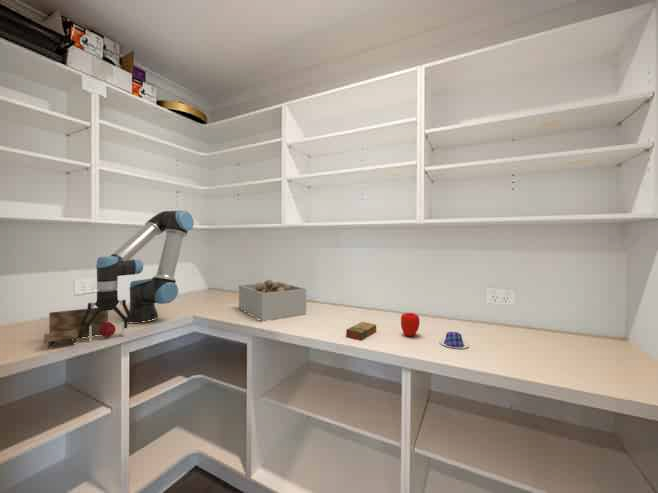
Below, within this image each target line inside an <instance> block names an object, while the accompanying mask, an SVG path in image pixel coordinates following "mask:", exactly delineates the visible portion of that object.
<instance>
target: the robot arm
mask: <svg viewBox="0 0 658 493" xmlns="http://www.w3.org/2000/svg"><path fill="white" fill-rule="evenodd" d="M194 225H195V221H194V217H193V215H192V214H191V213H190V212H189V211H187V210H180V209H178V210H164V211H161V212H159V213H157V214H155V215H154V216H153V217H151V218H150V219H148V220H147V221H146V222H144V226H143V227H142V228H141V229H140V230H139V231H137V232H136V233H135V234H134V235H133V236H132V237H131V238H129V239H128V240H127V241H126V242H125V243H124V244H122V245H121V246H120V247H119V248H118V249H116V250H115V251H114V252H113V253H111V254H110V255H109V256H99V257H98V258H97V259H96V265H95V267H96V302H88V303H87V308H86V309H87V311H86V313H85V315H84V318H83V320H82V322H81V324H80V325H81V326H86V334H88V333H89V337H88V338H89V339H88V341H89V340H93V337H92V325H90V324H91V323H92V321H93V320H94V319H95V318H96V316H97V315H98V314H99V313H100V311H106V310H108V311H114V312H115V313H116V314H117V315H118V316H119V317H120V318H121V319H122V321H121V322H122V323H121V330H122V331H121V334H122V335H121V336H122V337H125V329H128V323H127V322H142V321H148V320H152V319H155V318H157V317H158V318H159V314H158V311H157V308H156V306H155V304H160V305H163V304H165V305H166V304H170V303H172V302H173V301H174V300H175V299H176V298H177V297H178V295H179V294H178V293H179V287H178V284H176V282H177V280H176V278H175V273H176V269H177V265H178V260H179V256H180V252H181V248H182V244H183V239H184V238H185V237H186V236H187V235H188V231H191V230H192V229H193V227H194ZM164 232H165V233H166V235H165V236H166V237H165V240H164V244H163V247H162V251H161V255H160V259H159V263H158V268H157V272H156V275H153V277H152V278H147V279H146V278H145V279H136V280H132V281H131V282H130V285H129V309H128V306H127V303H126V299H120V300H119V299H118V296H119V295H118V291H119V290H118V288H119V287H118V283H119V282H118V281H119V280H118V277H121V276H122V277H123V276H132V275H133V276H134V275H139V274H141V273H142V272H143V270H144V263H143V261H141V260H140V259H137V258H135V259H132V258H133V257H134V256H136V254H137V253H139V251H140V250H142V249H143V248H144V247H145V246H146V245H147V244H149V242H151V240H153V239H154V238H155V237H156V236H160V235H161V234H162V233H164ZM119 304H120V305H121V306H122V307H123V310H124V312H125V315H124V314H123V312H122V311H121V310H120V309H119V308H118V307H117V306H118V305H119ZM95 306H96V308H98V310H97V311H96V312H95V313H94V315H93V316H92V317H91V319H90V320H89V321H88V322H87V323H86V322H85V321H86V319H87V317H88V315H89V312H90V310H91V308H95Z"/></svg>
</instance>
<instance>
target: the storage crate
mask: <svg viewBox="0 0 658 493" xmlns="http://www.w3.org/2000/svg"><path fill="white" fill-rule="evenodd" d="M275 282H276V283H277V284H278V286H279V287H282V288H283V287H284V285H286V284H287V285H290V287H291V290H288V291H278V292H277V289H276V292H269V293H265V290H266V289H265V288H266V286H265V284H264V286H265V288H264V290H262V292H263V293H262V292H259V291H257V290H256V289H255V285H256V284H257V283H250V284H249V283H247V284H239V285H238V309H239V308H240V309H242V310H243V311H245V312H247V313H249V314H251V315H253V316H254V317H256V318H258V319H260V320H261V321H265V322H268V321H267V320H271V321H275V320H274V319H277V320H282V319H281V318H283V319H288V318H287V317H289V318H293V317H294V316H295V317H299V316H300V315H301V316H305V315H307V288H305V287H300V286H296V285H292V284H288V283H285V282H280V281H275ZM271 290H272V288H271ZM240 309H239V310H240ZM243 311H242V312H243ZM245 312H244V313H245ZM247 313H246V314H247ZM249 314H248V315H249ZM254 317H253V318H254ZM256 318H255V319H256ZM258 319H257V320H258ZM261 321H260V322H261Z"/></svg>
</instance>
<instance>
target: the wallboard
mask: <svg viewBox="0 0 658 493" xmlns="http://www.w3.org/2000/svg"><path fill="white" fill-rule="evenodd" d="M87 309H88V308H83V309H82V308H81V309H72V310H62V311H61V310H60V311H53V312H49V313H48V316H49V319H48V320H49V322H48V323H49V326H48V328H49V330H48V331H49V332H48V334H49V333H51V332H59V331H66V330H74V329H80V332H79V335H78V338H82V337H88V336H89V333H88V334H86V326H81V325H80V324H81V322H82V320H83V318H84V315H85V313H86V311H87ZM97 310H98V307H93V308H91V310H90V312H89V315H88V317H87V319H86V321H85V322H86V323H87V322H88V321H89V320H90V319H91V317H92V316H93V315H94V313H95V312H96V311H97ZM106 321H108V322H109V310H106V311H100V313H99V314H98V315H97V316H96V318H95V319H94V320H93V321H92V323H91V324H90V325H92V336H95V335H100V333H99V330H100V327H101V326H102V325H103V324H105V323H106ZM95 337H96V336H95ZM88 338H89V337H88ZM72 339H73V338H72ZM72 339H65V340H58V341H55V343H60V342H59V341H61V342H66V341H67V340H68V341H73V340H72ZM82 339H83V338H82Z"/></svg>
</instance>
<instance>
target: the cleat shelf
mask: <svg viewBox="0 0 658 493" xmlns="http://www.w3.org/2000/svg"><path fill="white" fill-rule="evenodd" d="M79 332H80V329H74V330H66V331H59V332H51V333H49V332H48V333H44V334H43V343H47V349H51V348H50V347H53V346H54V345H53V344H55V343H56V342H55V341H58V340H65V339H72V338H73V340H72V345H73V344H74V343H76V341H77V342H78V340H79V339H78V335H79ZM77 339H78V340H77ZM76 344H77V343H76ZM74 345H75V344H74Z"/></svg>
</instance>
